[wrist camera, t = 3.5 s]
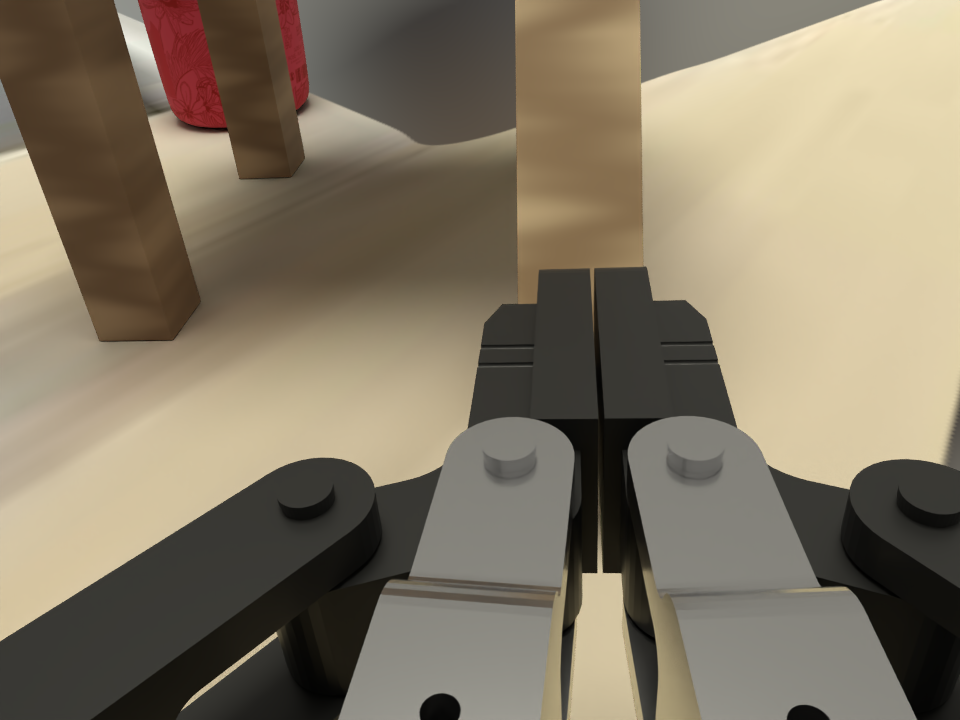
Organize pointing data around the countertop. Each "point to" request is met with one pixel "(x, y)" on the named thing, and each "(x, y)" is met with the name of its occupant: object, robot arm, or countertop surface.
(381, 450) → the countertop surface
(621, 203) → the oak leg
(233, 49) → the walnut stool
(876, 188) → the countertop surface
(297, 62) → the red bottle
